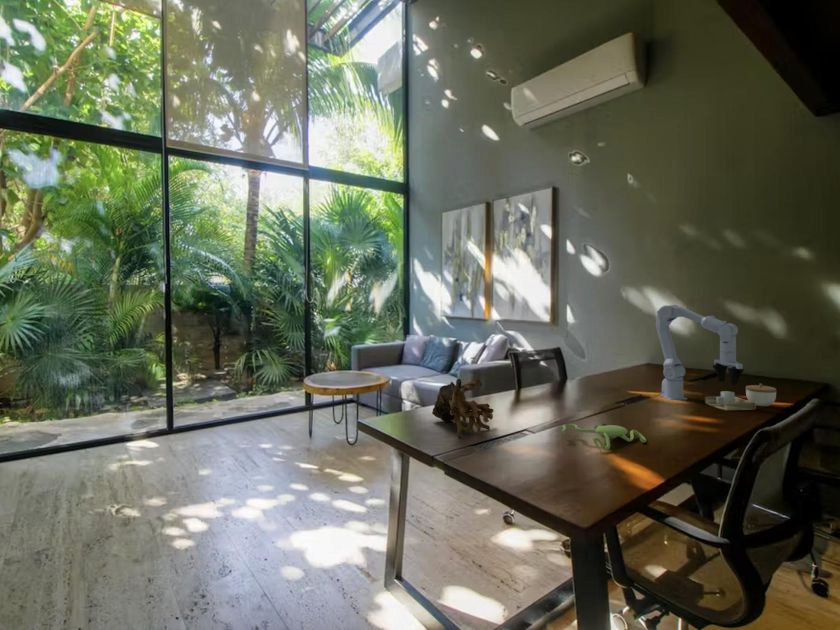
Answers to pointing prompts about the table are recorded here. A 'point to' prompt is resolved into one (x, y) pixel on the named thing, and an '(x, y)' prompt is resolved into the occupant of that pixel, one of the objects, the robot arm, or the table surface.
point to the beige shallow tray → (732, 404)
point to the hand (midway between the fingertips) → (727, 382)
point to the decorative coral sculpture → (461, 406)
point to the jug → (726, 397)
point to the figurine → (606, 433)
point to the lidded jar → (761, 394)
